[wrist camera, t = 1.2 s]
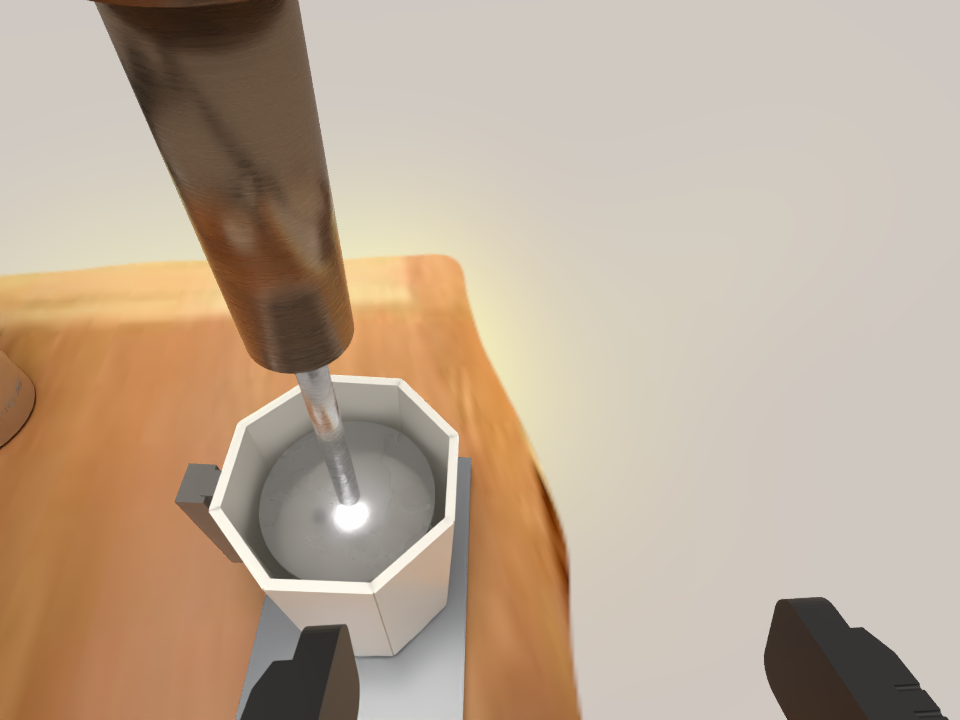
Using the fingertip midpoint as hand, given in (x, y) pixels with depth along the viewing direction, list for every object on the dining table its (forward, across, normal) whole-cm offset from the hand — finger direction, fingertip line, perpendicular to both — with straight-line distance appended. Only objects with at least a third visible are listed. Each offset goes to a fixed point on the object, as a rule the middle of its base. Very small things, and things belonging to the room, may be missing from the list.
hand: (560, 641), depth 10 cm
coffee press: (+19, +9, +18) cm, 27 cm away
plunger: (+13, +8, +7) cm, 17 cm away
